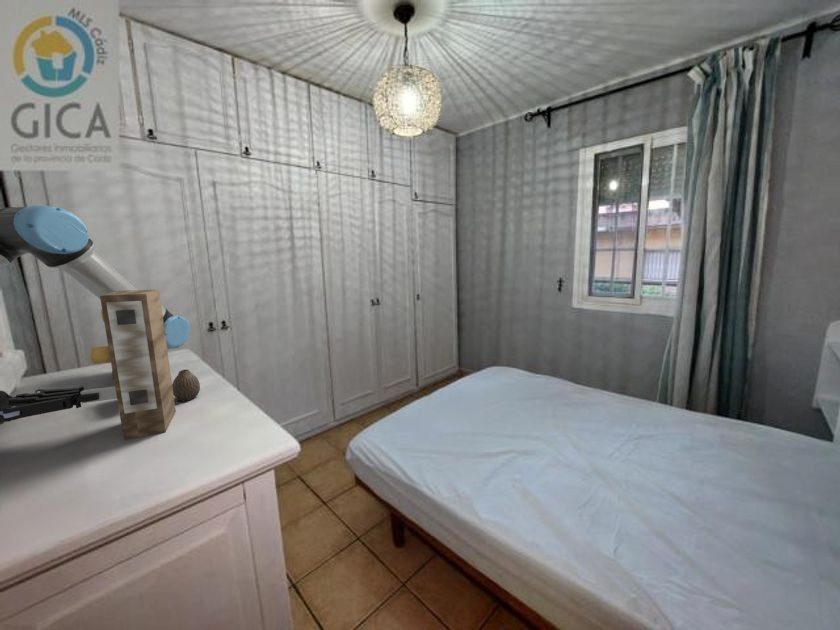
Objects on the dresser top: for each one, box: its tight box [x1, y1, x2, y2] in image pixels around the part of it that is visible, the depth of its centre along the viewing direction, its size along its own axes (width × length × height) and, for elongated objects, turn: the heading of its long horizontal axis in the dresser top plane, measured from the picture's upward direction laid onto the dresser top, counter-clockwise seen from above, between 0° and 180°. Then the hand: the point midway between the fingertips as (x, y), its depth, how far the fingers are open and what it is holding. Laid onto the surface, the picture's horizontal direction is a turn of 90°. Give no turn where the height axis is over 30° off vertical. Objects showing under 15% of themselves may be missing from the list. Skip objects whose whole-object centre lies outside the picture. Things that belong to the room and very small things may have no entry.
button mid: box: [90, 345, 111, 365], centre depth 79 cm, size 4×4×4 cm
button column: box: [99, 288, 177, 441], centre depth 82 cm, size 8×13×34 cm, turn 26°
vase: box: [172, 369, 201, 402], centre depth 100 cm, size 7×7×9 cm
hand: (118, 392), depth 81 cm, fingers closed
